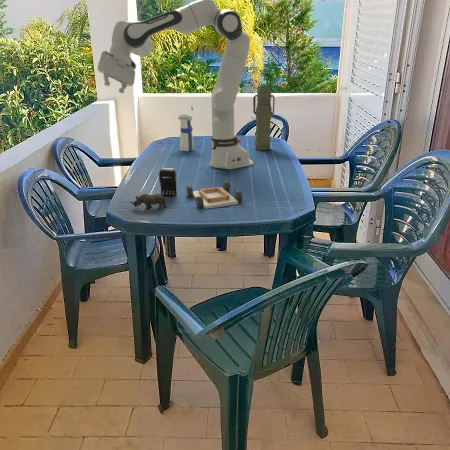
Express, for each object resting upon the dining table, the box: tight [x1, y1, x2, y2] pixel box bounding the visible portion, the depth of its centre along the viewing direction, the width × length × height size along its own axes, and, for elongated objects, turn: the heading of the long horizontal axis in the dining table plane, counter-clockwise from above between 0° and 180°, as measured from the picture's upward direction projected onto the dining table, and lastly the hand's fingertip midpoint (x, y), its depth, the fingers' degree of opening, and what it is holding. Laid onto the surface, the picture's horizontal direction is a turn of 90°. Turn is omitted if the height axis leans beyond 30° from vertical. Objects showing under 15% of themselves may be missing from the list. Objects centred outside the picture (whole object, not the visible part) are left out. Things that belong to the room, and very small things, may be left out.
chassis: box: [185, 180, 243, 210], centre depth 179 cm, size 18×18×4 cm
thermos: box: [252, 85, 276, 151], centre depth 248 cm, size 9×12×35 cm
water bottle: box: [177, 106, 194, 152], centre depth 250 cm, size 8×9×25 cm
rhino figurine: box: [130, 193, 167, 211], centre depth 170 cm, size 4×14×6 cm, turn 91°
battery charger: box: [158, 167, 178, 197], centre depth 181 cm, size 7×4×11 cm, turn 85°
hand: (114, 89), depth 196 cm, fingers open, 8 cm apart
